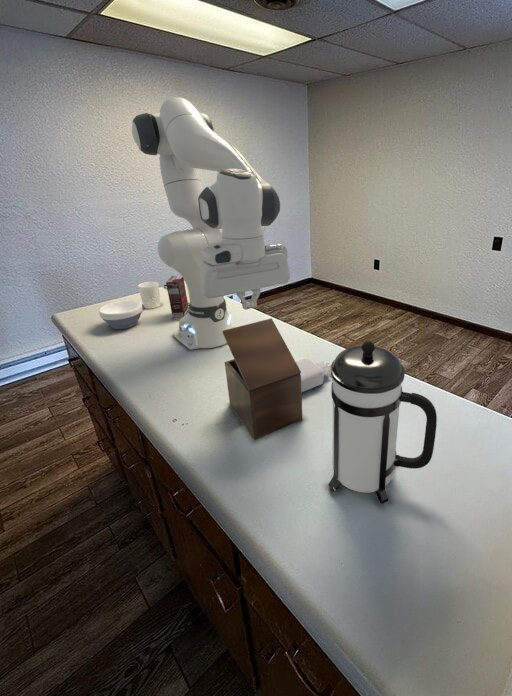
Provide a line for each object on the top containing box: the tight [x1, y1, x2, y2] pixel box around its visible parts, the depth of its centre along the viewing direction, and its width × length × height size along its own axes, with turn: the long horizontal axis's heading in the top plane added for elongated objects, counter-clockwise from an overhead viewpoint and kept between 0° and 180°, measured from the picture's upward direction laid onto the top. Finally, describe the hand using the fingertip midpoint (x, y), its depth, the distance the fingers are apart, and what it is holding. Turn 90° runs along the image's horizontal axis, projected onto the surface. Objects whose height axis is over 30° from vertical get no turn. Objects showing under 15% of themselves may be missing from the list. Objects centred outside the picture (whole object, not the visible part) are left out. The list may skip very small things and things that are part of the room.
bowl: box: [98, 299, 144, 330], centre depth 138 cm, size 14×14×8 cm
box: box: [224, 358, 303, 441], centre depth 88 cm, size 16×13×13 cm
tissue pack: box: [295, 358, 331, 393], centre depth 103 cm, size 5×9×15 cm
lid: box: [222, 317, 301, 392], centre depth 83 cm, size 16×13×1 cm
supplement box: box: [165, 275, 189, 321], centre depth 145 cm, size 9×5×16 cm, turn 6°
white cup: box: [137, 281, 162, 310], centre depth 156 cm, size 8×8×10 cm
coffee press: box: [323, 340, 438, 505], centre depth 66 cm, size 17×16×30 cm
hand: (249, 307), depth 83 cm, fingers closed
